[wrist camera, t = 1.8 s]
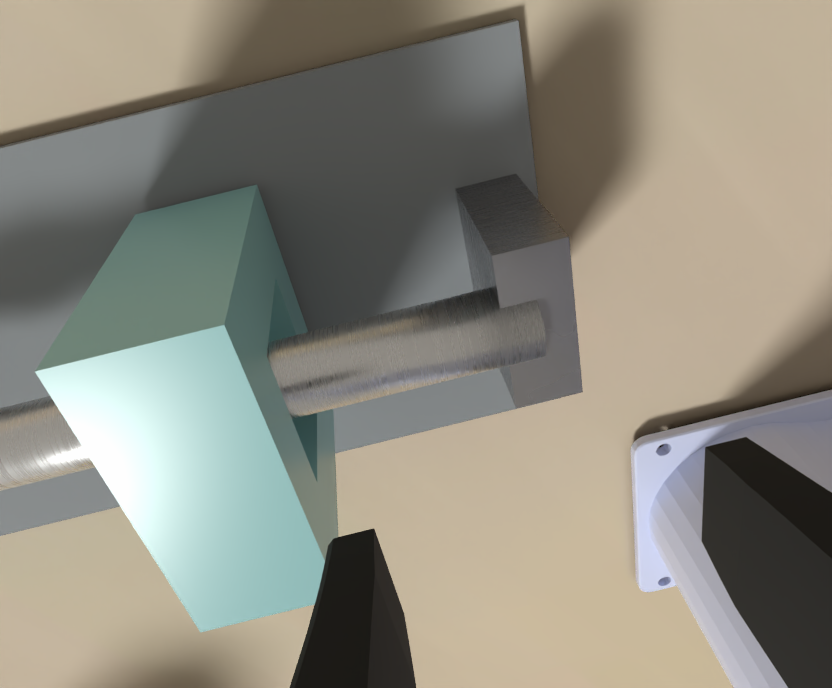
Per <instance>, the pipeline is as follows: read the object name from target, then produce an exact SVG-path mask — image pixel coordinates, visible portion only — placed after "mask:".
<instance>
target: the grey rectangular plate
mask: <svg viewBox="0 0 832 688" xmlns="http://www.w3.org/2000/svg"><path fill="white" fill-rule="evenodd" d="M512 174H517V175H518V177H519V178H520V179H521V180H522V181H523V183H524V184H525V185H526V186H527V187H528V189H529V190H530V191H531V192H532V193H533V195H534V196H535V197H536V198H537V199H538V191H537V182H536V173H535V164H534V155H533V146H532V137H531V128H530V119H529V110H528V101H527V92H526V83H525V74H524V65H523V56H522V47H521V39H520V30H519V21H518V20H516V19H514V20H510V21H506V22H502V23H498V24H494V25H490V26H485V27H481V28H477V29H473V30H469V31H465V32H461V33H457V34H453V35H449V36H445V37H441V38H437V39H433V40H429V41H425V42H421V43H417V44H413V45H408V46H404V47H400V48H396V49H392V50H388V51H384V52H380V53H376V54H372V55H368V56H364V57H360V58H356V59H352V60H348V61H344V62H340V63H336V64H331V65H327V66H323V67H319V68H315V69H311V70H307V71H303V72H299V73H295V74H291V75H287V76H283V77H279V78H275V79H271V80H267V81H263V82H259V83H254V84H250V85H246V86H242V87H238V88H234V89H230V90H226V91H222V92H218V93H214V94H210V95H206V96H202V97H198V98H194V99H190V100H186V101H182V102H177V103H173V104H169V105H165V106H161V107H157V108H153V109H149V110H145V111H141V112H137V113H133V114H129V115H125V116H121V117H117V118H113V119H109V120H105V121H101V122H96V123H92V124H88V125H84V126H80V127H76V128H72V129H68V130H64V131H60V132H56V133H52V134H48V135H44V136H40V137H36V138H32V139H28V140H24V141H19V142H15V143H11V144H7V145H3V146H0V408H2V407H6V406H10V405H14V404H18V403H22V402H27V401H31V400H35V399H39V398H43V397H47V396H50V395H49V393H48V392H47V390H46V388H45V387H44V385H43V384H42V382H41V381H40V379H39V377H38V376H37V374H36V373H35V370H36V369H37V367H38V366H39V364H40V363H41V361H42V360H43V358H44V356H45V355H46V353H47V352H48V350H49V349H50V347H51V345H52V344H53V342H54V341H55V339H56V338H57V336H58V335H59V333H60V331H61V330H62V328H63V327H64V325H65V324H66V322H67V320H68V319H69V317H70V316H71V314H72V313H73V311H74V310H75V308H76V306H77V305H78V303H79V302H80V300H81V299H82V297H83V296H84V294H85V292H86V291H87V289H88V288H89V286H90V285H91V283H92V281H93V280H94V278H95V277H96V275H97V274H98V272H99V271H100V269H101V267H102V266H103V264H104V263H105V261H106V260H107V258H108V256H109V255H110V253H111V252H112V250H113V249H114V247H115V246H116V244H117V242H118V241H119V239H120V238H121V236H122V235H123V233H124V232H125V230H126V228H127V227H128V225H129V224H130V222H131V221H132V219H133V217H134V216H135V214H139V213H143V212H147V211H151V210H155V209H159V208H164V207H168V206H172V205H176V204H180V203H184V202H188V201H192V200H196V199H200V198H204V197H208V196H212V195H216V194H220V193H224V192H228V191H232V190H237V189H241V188H245V187H249V186H253V185H257V186H258V189H259V192H260V195H261V198H262V201H263V203H264V206H265V209H266V212H267V215H268V218H269V221H270V224H271V226H272V229H273V232H274V235H275V238H276V241H277V244H278V247H279V249H280V252H281V255H282V258H283V261H284V264H285V267H286V270H287V272H288V275H289V278H290V281H291V284H292V287H293V290H294V293H295V295H296V298H297V301H298V304H299V307H300V310H301V313H302V315H303V318H304V321H305V324H306V327H307V330H308V332H310V331H315V330H319V329H323V328H327V327H331V326H335V325H339V324H343V323H347V322H351V321H355V320H359V319H363V318H367V317H371V316H375V315H379V314H384V313H388V312H392V311H396V310H400V309H404V308H408V307H412V306H416V305H420V304H424V303H428V302H432V301H436V300H440V299H444V298H448V297H452V296H457V295H461V294H465V293H469V292H473V285H472V280H471V274H470V269H469V263H468V258H467V252H466V247H465V241H464V236H463V230H462V224H461V219H460V213H459V208H458V202H457V197H456V191H455V189H456V188H460V187H464V186H468V185H472V184H476V183H480V182H484V181H488V180H492V179H496V178H500V177H504V176H508V175H512ZM538 201H539V200H538ZM560 398H561V397H560ZM556 399H558V398H556ZM552 400H554V399H552ZM548 401H550V400H548ZM544 402H545V401H544ZM540 403H541V402H540ZM536 404H537V403H536ZM532 405H533V404H532ZM528 406H529V405H528ZM524 407H525V406H524ZM520 408H521V407H520ZM513 409H517V408H516V407H515V405H514V402H513V400H512V398H511V395H510V393H509V390H508V388H507V386H506V383H505V381H504V379H503V376H502V374H501V371H500V369H499V368H497V369H493V370H489V371H485V372H481V373H476V374H472V375H468V376H464V377H460V378H456V379H452V380H448V381H444V382H440V383H436V384H432V385H428V386H424V387H420V388H416V389H412V390H407V391H403V392H399V393H395V394H391V395H387V396H383V397H379V398H375V399H371V400H367V401H363V402H359V403H355V404H351V405H347V406H343V407H338V408H334V409H333V413H334V439H335V453H338V452H343V451H347V450H351V449H355V448H359V447H363V446H367V445H371V444H375V443H379V442H383V441H387V440H391V439H395V438H399V437H403V436H407V435H412V434H416V433H420V432H424V431H428V430H432V429H436V428H440V427H444V426H448V425H452V424H456V423H460V422H464V421H468V420H472V419H476V418H481V417H485V416H489V415H493V414H497V413H501V412H505V411H509V410H513ZM119 506H120V505H119V503H118V502H117V500H116V498H115V497H114V495H113V494H112V492H111V491H110V489H109V487H108V486H107V484H106V483H105V481H104V480H103V478H102V476H101V475H100V473H99V472H98V470H97V469H96V467H95V468H91V469H87V470H83V471H79V472H75V473H71V474H67V475H63V476H59V477H54V478H50V479H46V480H42V481H38V482H34V483H30V484H26V485H22V486H18V487H14V488H10V489H6V490H2V491H0V536H2V535H6V534H10V533H14V532H18V531H22V530H26V529H30V528H34V527H38V526H42V525H46V524H50V523H54V522H58V521H62V520H67V519H71V518H75V517H79V516H83V515H87V514H91V513H95V512H99V511H103V510H107V509H111V508H115V507H119Z"/></svg>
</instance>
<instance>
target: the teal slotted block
mask: <svg viewBox="0 0 832 688" xmlns="http://www.w3.org/2000/svg"><path fill="white" fill-rule="evenodd" d="M306 332H308V330H307V327H306V324H305V321H304V318H303V315H302V313H301V310H300V307H299V304H298V301H297V298H296V295H295V293H294V290H293V287H292V284H291V281H290V278H289V275H288V272H287V270H286V267H285V264H284V261H283V258H282V255H281V252H280V249H279V247H278V244H277V241H276V238H275V235H274V232H273V229H272V226H271V224H270V221H269V218H268V215H267V212H266V209H265V206H264V203H263V201H262V198H261V195H260V192H259V189H258V186H257V185H253V186H249V187H245V188H241V189H237V190H232V191H228V192H224V193H220V194H216V195H212V196H208V197H204V198H200V199H196V200H192V201H188V202H184V203H180V204H176V205H172V206H168V207H164V208H159V209H155V210H151V211H147V212H143V213H139V214H135V216H134V217H133V219H132V221H131V222H130V224H129V225H128V227H127V228H126V230H125V232H124V233H123V235H122V236H121V238H120V239H119V241H118V242H117V244H116V246H115V247H114V249H113V250H112V252H111V253H110V255H109V256H108V258H107V260H106V261H105V263H104V264H103V266H102V267H101V269H100V271H99V272H98V274H97V275H96V277H95V278H94V280H93V281H92V283H91V285H90V286H89V288H88V289H87V291H86V292H85V294H84V296H83V297H82V299H81V300H80V302H79V303H78V305H77V306H76V308H75V310H74V311H73V313H72V314H71V316H70V317H69V319H68V320H67V322H66V324H65V325H64V327H63V328H62V330H61V331H60V333H59V335H58V336H57V338H56V339H55V341H54V342H53V344H52V345H51V347H50V349H49V350H48V352H47V353H46V355H45V356H44V358H43V360H42V361H41V363H40V364H39V366H38V367H37V369H36V370H35V373H36V374H37V376H38V377H39V379H40V381H41V382H42V384H43V385H44V387H45V388H46V390H47V392H48V393H49V395H50V396H51V398H52V399H53V401H54V403H55V404H56V406H57V407H58V409H59V410H60V412H61V414H62V415H63V417H64V418H65V420H66V421H67V423H68V425H69V426H70V428H71V429H72V431H73V432H74V434H75V436H76V437H77V439H78V440H79V442H80V443H81V445H82V447H83V448H84V450H85V451H86V453H87V454H88V456H89V458H90V459H91V461H92V462H93V464H94V465H95V467H96V469H97V470H98V472H99V473H100V475H101V476H102V478H103V480H104V481H105V483H106V484H107V486H108V487H109V489H110V491H111V492H112V494H113V495H114V497H115V498H116V500H117V502H118V503H119V505H120V506H121V508H122V509H123V511H124V513H125V514H126V516H127V517H128V519H129V520H130V522H131V524H132V525H133V527H134V528H135V530H136V531H137V533H138V535H139V536H140V538H141V539H142V541H143V542H144V544H145V546H146V547H147V549H148V550H149V552H150V553H151V555H152V557H153V558H154V560H155V561H156V563H157V564H158V566H159V568H160V569H161V571H162V572H163V574H164V575H165V577H166V579H167V580H168V582H169V583H170V585H171V586H172V588H173V590H174V591H175V593H176V594H177V596H178V597H179V599H180V601H181V602H182V604H183V605H184V607H185V608H186V610H187V612H188V613H189V615H190V616H191V618H192V619H193V621H194V623H195V624H196V626H197V627H198V629H199V630H200V632H204V631H208V630H212V629H216V628H220V627H224V626H228V625H232V624H236V623H240V622H244V621H249V620H253V619H257V618H261V617H265V616H269V615H273V614H277V613H281V612H285V611H289V610H293V609H297V608H301V607H305V606H309V605H314V604H315V602H316V598H317V594H318V590H319V586H320V582H321V578H322V573H323V569H324V564H325V559H326V554H327V548H328V545H329V544H330V542H331V541H332V540H333V538H337V537H338V518H337V492H336V465H335V439H334V413H333V409H330V410H326V411H322V412H318V413H314V414H310V415H306V416H302V417H298V418H294V419H292V418H291V416H290V413H289V411H288V408H287V406H286V403H285V401H284V398H283V395H282V393H281V390H280V388H279V385H278V383H277V380H276V378H275V375H274V373H273V370H272V368H271V365H270V363H269V360H268V358H267V348H268V342H270V341H274V340H278V339H282V338H286V337H290V336H294V335H298V334H302V333H306Z"/></svg>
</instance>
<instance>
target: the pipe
mask: <svg viewBox="0 0 832 688" xmlns="http://www.w3.org/2000/svg"><path fill="white" fill-rule="evenodd" d="M455 191H456V197H457V202H458V208H459V213H460V219H461V224H462V230H463V236H464V241H465V247H466V252H467V258H468V263H469V269H470V274H471V280H472V285H473V292H469V293H465V294H461V295H457V296H452V297H448V298H444V299H440V300H436V301H432V302H428V303H424V304H420V305H416V306H412V307H408V308H404V309H400V310H396V311H392V312H388V313H384V314H379V315H375V316H371V317H367V318H363V319H359V320H355V321H351V322H347V323H343V324H339V325H335V326H331V327H327V328H323V329H319V330H315V331H310V332H306V333H302V334H298V335H294V336H290V337H286V338H282V339H278V340H274V341H270V342H268V348H267V358H268V360H269V363H270V365H271V368H272V370H273V373H274V375H275V378H276V380H277V383H278V385H279V388H280V390H281V393H282V395H283V398H284V401H285V403H286V406H287V408H288V411H289V413H290V416H291V418H292V419H294V418H298V417H302V416H306V415H310V414H314V413H318V412H322V411H326V410H330V409H334V408H338V407H343V406H347V405H351V404H355V403H359V402H363V401H367V400H371V399H375V398H379V397H383V396H387V395H391V394H395V393H399V392H403V391H407V390H412V389H416V388H420V387H424V386H428V385H432V384H436V383H440V382H444V381H448V380H452V379H456V378H460V377H464V376H468V375H472V374H476V373H481V372H485V371H489V370H493V369H497V368H499V369H500V371H501V374H502V376H503V379H504V381H505V383H506V386H507V388H508V390H509V393H510V395H511V398H512V400H513V402H514V405H515V407H516V408H520V407H524V406H528V405H532V404H536V403H540V402H544V401H548V400H552V399H556V398H560V397H565V396H569V395H573V394H577V393H581V392H583V391H582V379H581V368H580V357H579V345H578V334H577V323H576V311H575V300H574V289H573V277H572V266H571V255H570V243H569V236H568V235H567V234H566V233H565V232H564V230H563V229H562V228H561V227H560V226H559V224H558V223H557V222H556V221H555V220H554V218H553V217H552V216H551V215H550V214H549V212H548V211H547V210H546V209H545V208H544V207H543V205H542V204H541V203H540V202H539V201H538V199H537V198H536V197H535V196H534V195H533V193H532V192H531V191H530V190H529V189H528V187H527V186H526V185H525V184H524V183H523V181H522V180H521V179H520V178H519V177H518V175H517V174H512V175H508V176H504V177H500V178H496V179H492V180H488V181H484V182H480V183H476V184H472V185H468V186H464V187H460V188H456V189H455ZM91 468H95V465H94V464H93V462H92V461H91V459H90V458H89V456H88V454H87V453H86V451H85V450H84V448H83V447H82V445H81V443H80V442H79V440H78V439H77V437H76V436H75V434H74V432H73V431H72V429H71V428H70V426H69V425H68V423H67V421H66V420H65V418H64V417H63V415H62V414H61V412H60V410H59V409H58V407H57V406H56V404H55V403H54V401H53V399H52V398H51V396H47V397H43V398H39V399H35V400H31V401H27V402H22V403H18V404H14V405H10V406H6V407H2V408H0V491H2V490H6V489H10V488H14V487H18V486H22V485H26V484H30V483H34V482H38V481H42V480H46V479H50V478H54V477H59V476H63V475H67V474H71V473H75V472H79V471H83V470H87V469H91Z"/></svg>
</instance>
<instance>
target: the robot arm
mask: <svg viewBox="0 0 832 688" xmlns="http://www.w3.org/2000/svg"><path fill="white" fill-rule="evenodd" d="M662 444H664V445H663V446H662V447H660V448H658V447H659V446H660V445H662ZM631 469H632V493H633V517H634V541H635V565H636V581H637V584H638V586H639V588H640V589H641V590H642V591H644V592H653V591H657V590H661V589H665V588H669V587H673V586H677V587H678V589H679V590H680V592H681V594H682V596H683V598H684V599H685V601H686V603H687V605H688V607H689V608H690V610H691V612H692V614H693V616H694V617H695V619H696V621H697V623H698V625H699V626H700V628H701V630H702V632H703V634H704V635H705V637H706V639H707V641H708V643H709V644H710V646H711V648H712V650H713V652H714V653H715V655H716V657H717V659H718V661H719V662H720V664H721V666H722V668H723V670H724V671H725V673H726V675H727V677H728V679H729V680H730V682H731V684H732V686H733V688H832V390H828V391H824V392H820V393H816V394H811V395H807V396H803V397H799V398H795V399H791V400H787V401H783V402H779V403H775V404H771V405H767V406H763V407H759V408H755V409H751V410H747V411H742V412H738V413H734V414H730V415H726V416H722V417H718V418H714V419H710V420H706V421H702V422H698V423H694V424H690V425H686V426H682V427H677V428H673V429H669V430H665V431H661V432H657V433H653V434H649V435H645V436H642V437H640V438H638V439H637V440H636V441H635V442H634V443H633V444H632V446H631ZM290 688H416V683H415V677H414V671H413V664H412V658H411V652H410V646H409V640H408V634H407V628H406V622H405V617H404V612H403V610H402V607H401V604H400V601H399V598H398V595H397V593H396V590H395V587H394V584H393V581H392V578H391V575H390V573H389V570H388V567H387V564H386V561H385V558H384V556H383V553H382V550H381V547H380V544H379V541H378V538H377V536H376V533H375V530H374V529H370V530H366V531H362V532H358V533H354V534H350V535H346V536H342V537H337V538H333V540H332V541H331V542H330V544H329V545H328V548H327V554H326V559H325V564H324V569H323V573H322V578H321V582H320V586H319V590H318V594H317V598H316V602H315V606H314V609H313V613H312V617H311V620H310V624H309V627H308V631H307V634H306V638H305V641H304V644H303V647H302V650H301V654H300V657H299V660H298V663H297V666H296V670H295V673H294V676H293V679H292V682H291V685H290Z"/></svg>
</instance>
